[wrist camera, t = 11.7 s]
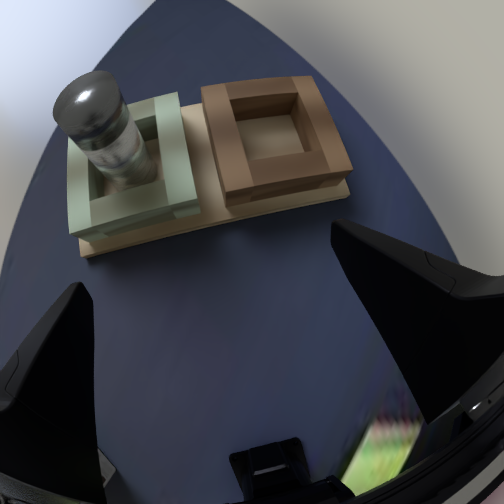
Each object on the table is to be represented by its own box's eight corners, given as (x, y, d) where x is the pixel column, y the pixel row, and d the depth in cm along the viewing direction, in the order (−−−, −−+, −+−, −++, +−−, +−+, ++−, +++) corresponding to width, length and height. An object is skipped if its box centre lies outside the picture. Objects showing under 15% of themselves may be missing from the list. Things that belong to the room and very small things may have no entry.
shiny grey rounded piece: (165, 176, 22) (126, 93, 12) (126, 205, 22) (62, 139, 11) (143, 146, 23) (102, 61, 12) (107, 172, 22) (47, 100, 11)
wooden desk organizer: (346, 197, 25) (367, 179, 20) (86, 258, 22) (60, 250, 17) (305, 96, 26) (317, 68, 22) (80, 143, 23) (61, 121, 19)
